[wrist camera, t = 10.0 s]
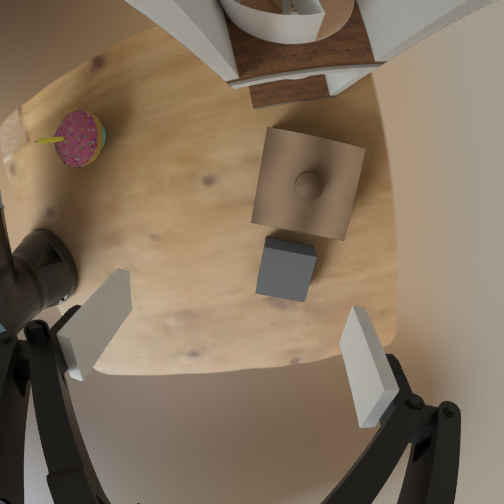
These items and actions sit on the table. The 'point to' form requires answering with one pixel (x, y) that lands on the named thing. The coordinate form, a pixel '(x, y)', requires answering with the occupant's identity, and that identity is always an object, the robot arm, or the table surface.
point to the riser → (286, 269)
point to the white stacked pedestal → (300, 39)
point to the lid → (307, 183)
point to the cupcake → (78, 138)
